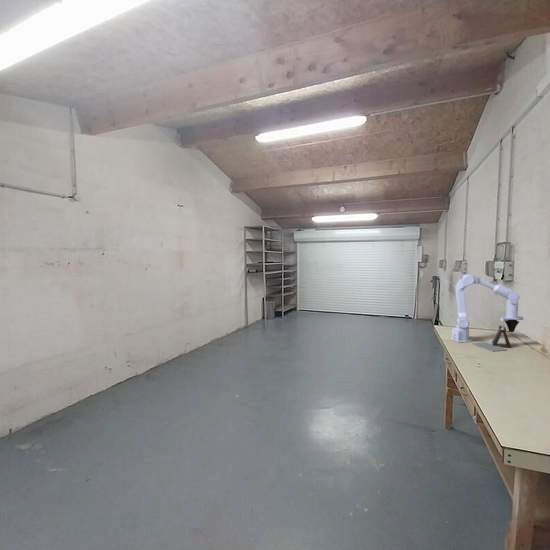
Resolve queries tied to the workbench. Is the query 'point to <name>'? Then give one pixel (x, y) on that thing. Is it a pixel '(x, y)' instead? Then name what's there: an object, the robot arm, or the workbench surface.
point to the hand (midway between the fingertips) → (511, 331)
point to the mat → (489, 346)
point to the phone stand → (495, 341)
